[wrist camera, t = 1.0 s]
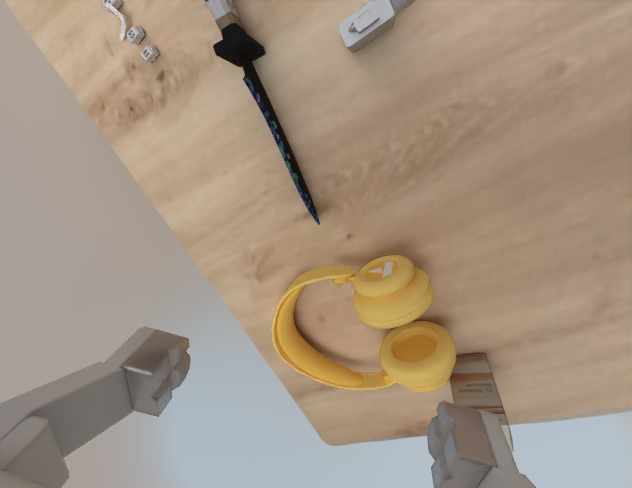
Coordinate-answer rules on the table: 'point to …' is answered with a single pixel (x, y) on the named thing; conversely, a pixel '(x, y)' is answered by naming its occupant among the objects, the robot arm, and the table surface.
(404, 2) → the lighter
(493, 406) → the beige brown box
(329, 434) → the table surface
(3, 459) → the robot arm
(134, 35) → the figurines set
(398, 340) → the headset
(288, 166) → the knife
